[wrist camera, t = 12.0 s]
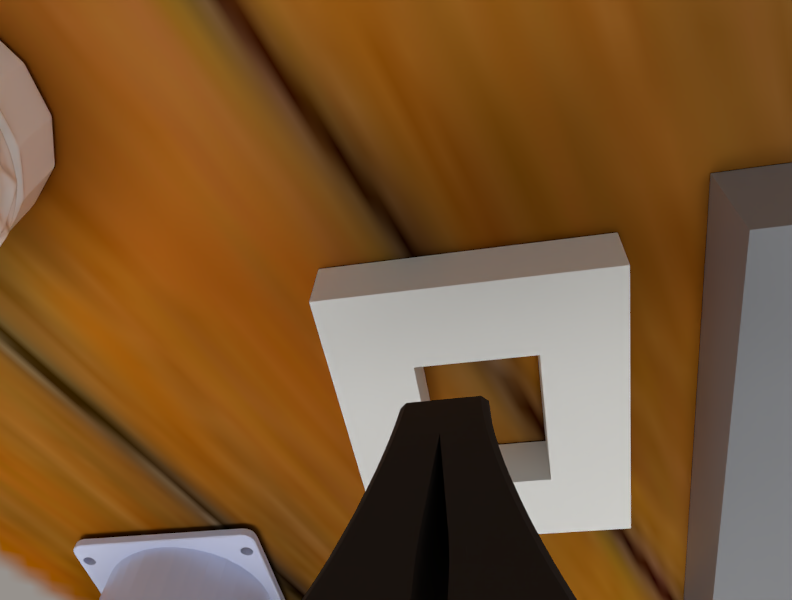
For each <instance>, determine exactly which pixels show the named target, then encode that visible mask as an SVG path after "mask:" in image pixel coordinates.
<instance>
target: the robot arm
mask: <svg viewBox="0 0 792 600" xmlns="http://www.w3.org/2000/svg"><path fill="white" fill-rule="evenodd" d="M73 551H74V554H75V555H76V557H77V558H78V560H79V561H80V563H81V564H82V566H83V567H84V569H85V570H86V572H87V573H88V575H89V576H90V578H91V579H92V581H93V582H94V584H95V585H96V587H97V588H98V590H99V591H100V593H101V596H100V599H99V600H285V598H284V596H283V594H282V592H281V589H280V587H279V585H278V583H277V580H276V578H275V576H274V573H273V571H272V569H271V567H270V564H269V562H268V560H267V558H266V555H265V553H264V551H263V548H262V546H261V544H260V542H259V539H258V537H257V535H256V534H255V533H254V532H253V531H252V530H249V529H244V528H240V529H226V530H211V531H196V532H181V533H166V534H152V535H137V536H122V537H107V538H93V539H82V540H79V541H78V542H77V543H76V545H75V547H74V550H73ZM302 600H577V599H576V597H575V596H574V594H573V593H572V591H571V589H570V588H569V586H568V585H567V583H566V581H565V580H564V578H563V577H562V575H561V573H560V572H559V570H558V568H557V567H556V565H555V563H554V562H553V560H552V558H551V556H550V555H549V553H548V551H547V549H546V547H545V546H544V544H543V542H542V540H541V538H540V536H539V534H538V533H537V531H536V529H535V527H534V525H533V523H532V521H531V519H530V517H529V515H528V513H527V511H526V509H525V507H524V505H523V503H522V501H521V499H520V496H519V494H518V492H517V490H516V488H515V485H514V483H513V481H512V479H511V477H510V474H509V472H508V469H507V467H506V464H505V462H504V459H503V457H502V454H501V451H500V448H499V445H498V442H497V439H496V436H495V433H494V429H493V425H492V419H491V412H490V406H489V401H488V400H486V399H485V398H483V397H482V396H476V397H465V398H454V399H443V400H432V401H422V402H411V403H406V404H405V405H404V406H403V407H402V408H401V409H400V412H399V415H398V418H397V420H396V423H395V426H394V429H393V431H392V434H391V436H390V439H389V441H388V444H387V446H386V448H385V451H384V453H383V455H382V458H381V460H380V462H379V464H378V467H377V469H376V471H375V473H374V475H373V477H372V479H371V481H370V483H369V485H368V487H367V489H366V491H365V493H364V495H363V497H362V499H361V501H360V503H359V505H358V507H357V509H356V511H355V513H354V515H353V517H352V519H351V520H350V522H349V524H348V526H347V527H346V529H345V531H344V533H343V534H342V536H341V538H340V540H339V541H338V543H337V545H336V547H335V548H334V550H333V552H332V554H331V555H330V557H329V559H328V560H327V562H326V564H325V565H324V567H323V568H322V570H321V572H320V573H319V575H318V576H317V578H316V579H315V581H314V582H313V584H312V586H311V587H310V589H309V590H308V591H307V593H306V594H305V596H304V597H303V599H302Z"/></svg>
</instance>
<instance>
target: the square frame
mask: <svg viewBox="0 0 792 600" xmlns="http://www.w3.org/2000/svg"><path fill="white" fill-rule="evenodd" d="M309 303H310V307H311V310H312V313H313V317H314V320H315V323H316V327H317V330H318V334H319V337H320V340H321V344H322V347H323V350H324V354H325V357H326V360H327V364H328V367H329V370H330V374H331V377H332V381H333V384H334V387H335V391H336V394H337V397H338V401H339V404H340V407H341V411H342V414H343V417H344V421H345V424H346V428H347V431H348V434H349V438H350V441H351V444H352V448H353V451H354V454H355V458H356V461H357V464H358V468H359V471H360V475H361V478H362V481H363V485H364V488H365V491H366V489H367V487H368V485H369V483H370V481H371V479H372V477H373V475H374V473H375V471H376V469H377V467H378V464H379V462H380V460H381V458H382V455H383V453H384V451H385V448H386V446H387V444H388V441H389V439H390V436H391V434H392V431H393V429H394V426H395V423H396V420H397V418H398V415H399V412H400V409H401V408H402V407H403V406H404V405H405V404H406V403H411V402H422V401H430V397H429V392H428V387H427V383H426V378H425V373H424V368H423V367H425V366H435V365H445V364H455V363H465V362H475V361H485V360H495V359H505V358H515V357H525V356H535V355H538V365H539V375H540V386H541V397H542V408H543V418H544V429H545V440H546V441H538V442H525V443H513V444H501V445H499V448H500V451H501V454H502V457H503V459H504V462H505V464H506V467H507V469H508V472H509V474H510V477H511V479H512V481H513V483H514V485H515V488H516V490H517V492H518V494H519V496H520V499H521V501H522V503H523V505H524V507H525V509H526V511H527V513H528V515H529V517H530V519H531V521H532V523H533V525H534V527H535V529H536V531H537V533H538V534H546V533H562V532H578V531H594V530H611V529H627V528H631V418H630V264H629V261H628V258H627V256H626V253H625V251H624V248H623V245H622V243H621V240H620V238H619V235H618V232H617V233H609V234H601V235H593V236H584V237H576V238H568V239H560V240H552V241H544V242H535V243H527V244H519V245H511V246H503V247H495V248H487V249H478V250H470V251H462V252H454V253H446V254H438V255H429V256H421V257H413V258H405V259H397V260H389V261H381V262H372V263H364V264H356V265H348V266H340V267H332V268H323V269H318V273H317V276H316V280H315V283H314V287H313V290H312V294H311V297H310V301H309Z"/></svg>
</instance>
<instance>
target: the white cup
mask: <svg viewBox="0 0 792 600" xmlns="http://www.w3.org/2000/svg"><path fill="white" fill-rule="evenodd" d="M54 166H55V159H54V144H53V128H52V116H51V114H50V112H49V110H48V108H47V106H46V104H45V102H44V100H43V98H42V96H41V94H40V93H39V91H38V89H37V87H36V85H35V83H34V81H33V79H32V77H31V75H30V73H29V71H28V69H27V68H26V66H25V64H24V63H23V61H21V60H20V59H19V58H18V57H17V56H16V55H15V54H14V53H13V52H12V51H11V50H10V49H9V48H8V47H7V46H6V45H4V44H3V43H2V42H1V41H0V246H1V245H2V243H3V242H4V240H5V239H6V237H7V236H8V234H9V231H10V230H11V229H12V228H13V227H14V226H15V225H16V224H17V223H18V222H19V220H20V219H21V218H22V217H23V216H24V215H25V214H26V213H27V212H28V211H29V210H30V208H31V207H32V206H33V205H34V204H35V202H36V200H37V199H38V197H39V195H40V193H41V191H42V189H43V187H44V185H45V184H46V182H47V180H48V178H49V176H50V174H51V172H52V171H53V169H54Z"/></svg>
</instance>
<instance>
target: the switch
mask: <svg viewBox="0 0 792 600" xmlns="http://www.w3.org/2000/svg"><path fill="white" fill-rule="evenodd" d="M684 600H792V163H786V164H778V165H771V166H763V167H755V168H748V169H740V170H733V171H725V172H718V173H711V176H710V192H709V207H708V223H707V239H706V255H705V271H704V287H703V303H702V319H701V334H700V350H699V366H698V382H697V398H696V414H695V430H694V446H693V461H692V477H691V493H690V509H689V525H688V541H687V557H686V573H685V588H684Z"/></svg>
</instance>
